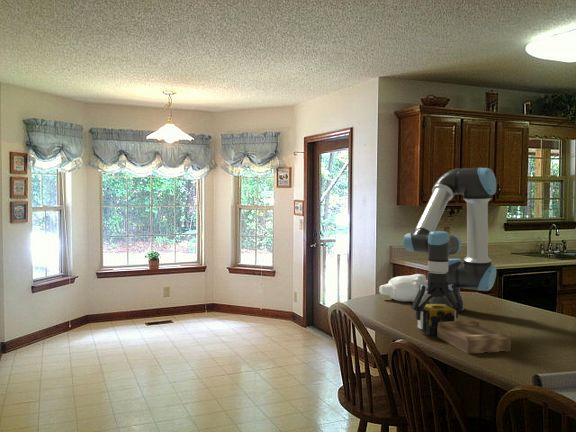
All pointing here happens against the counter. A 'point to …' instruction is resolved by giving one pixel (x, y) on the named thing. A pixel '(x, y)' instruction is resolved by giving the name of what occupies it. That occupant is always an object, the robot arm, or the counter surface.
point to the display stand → (473, 337)
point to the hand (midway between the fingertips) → (436, 327)
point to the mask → (404, 287)
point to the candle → (436, 317)
